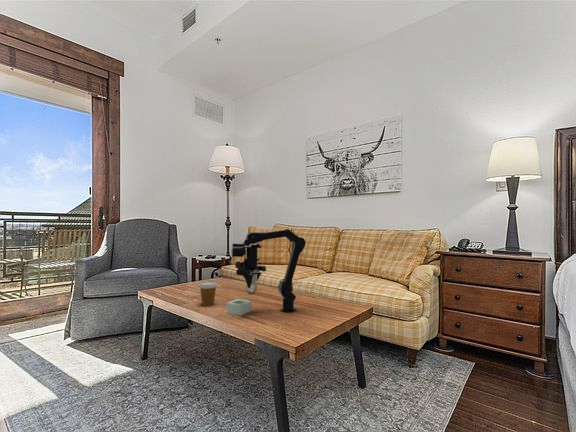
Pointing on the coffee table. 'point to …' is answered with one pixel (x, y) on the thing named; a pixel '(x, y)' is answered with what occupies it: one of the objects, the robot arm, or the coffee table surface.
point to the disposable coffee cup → (208, 293)
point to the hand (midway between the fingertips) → (251, 287)
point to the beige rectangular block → (252, 285)
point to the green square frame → (239, 307)
